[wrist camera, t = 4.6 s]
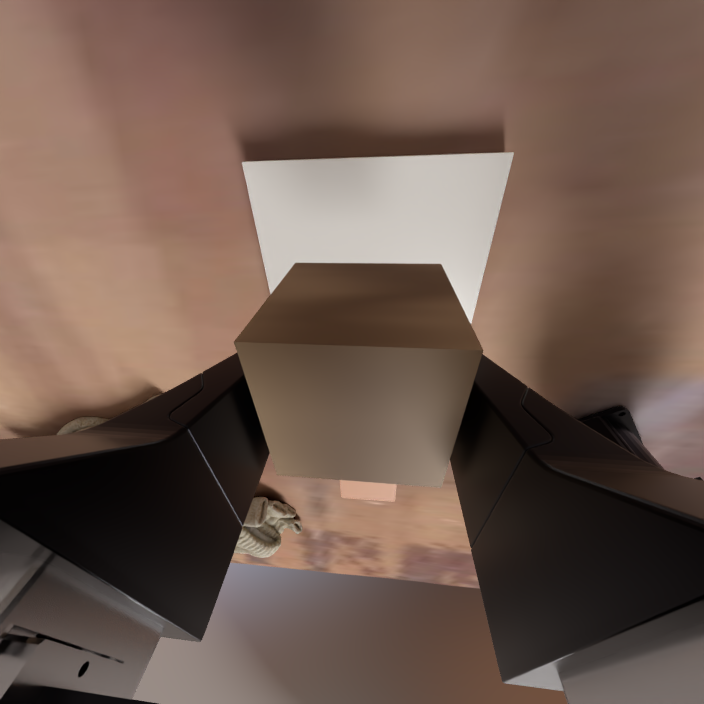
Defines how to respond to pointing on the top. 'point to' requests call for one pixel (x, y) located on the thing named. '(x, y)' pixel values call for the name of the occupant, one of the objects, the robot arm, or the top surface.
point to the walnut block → (361, 371)
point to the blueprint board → (380, 212)
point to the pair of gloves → (261, 519)
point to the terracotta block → (368, 490)
